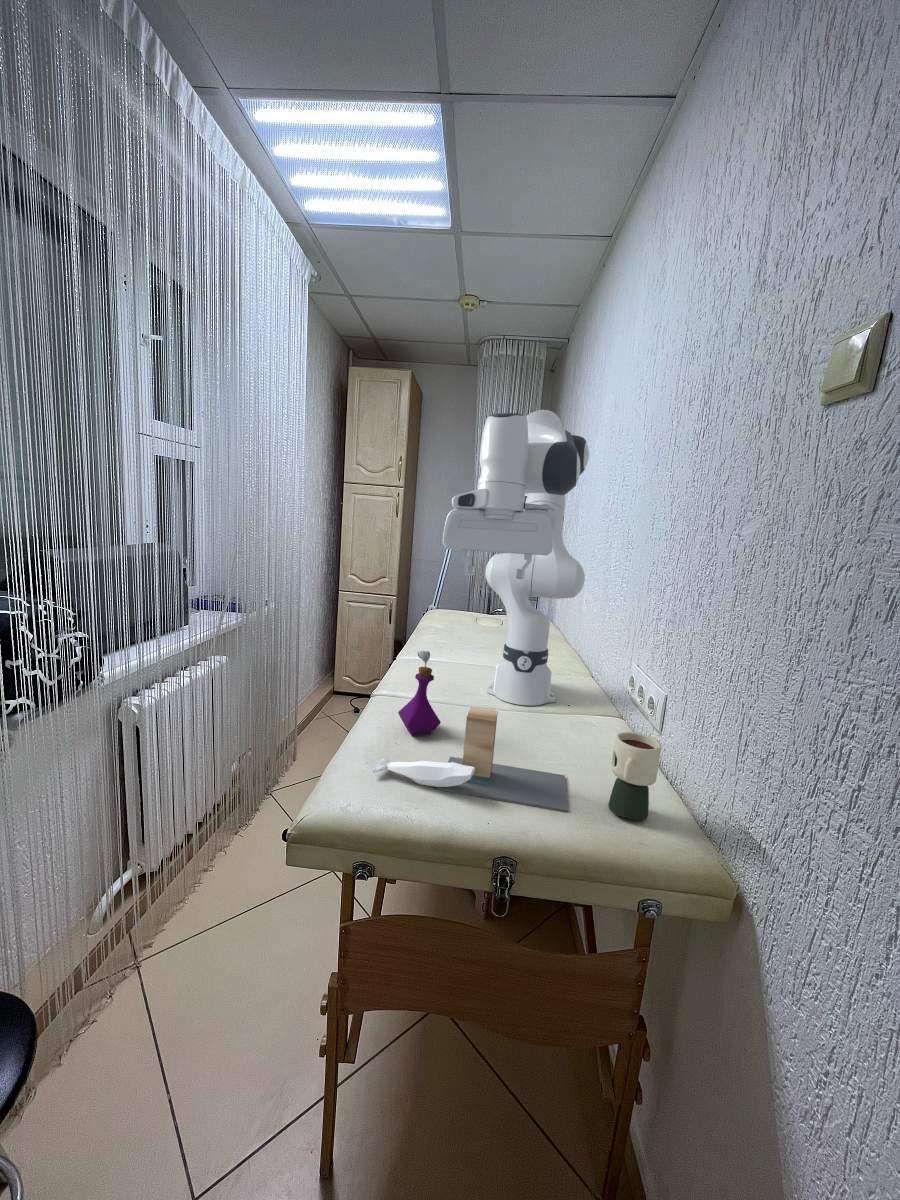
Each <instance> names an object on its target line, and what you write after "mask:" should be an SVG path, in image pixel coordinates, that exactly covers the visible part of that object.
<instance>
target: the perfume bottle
mask: <svg viewBox="0 0 900 1200" xmlns="http://www.w3.org/2000/svg"><path fill="white" fill-rule="evenodd" d="M416 652H417V656H418V658H419V659H421V661H423V663H424V666H419V667H418V673H416V674H415V677H414V679H415V680H417V682H418V686H417V690H416V693H415V695H414V696H413V697H412V698H411V699H410V700H409V701H408V702H407V703H406V704H405V705H404V706H403V707H401V709H400V710H398V712H397V713H398V715H399V717H400V719H401V721H402V723H403V725H404V727H405V729H406V728H407V729H406V730H407V731H408V733H409V734H410V736H411V735H412V736H411V737H416V736H415V735H419V736H428V735H427V734H429V735H431V734H432V733H433V732H434V731H435V730H436V729H437V728H438V727H439V726H440V724H441V720H440V719H439V717H438V715H437V714H436V712H435V711H434V709H433V707H432V705H431V703H430V702H429V699H428V696H427V690H428V685H429V683H431V681H434V680H435V676H434V675H433V674H432V672H433V669H432V668H431V667H428V666H427V663H428V661H429V659H430V658H431V652H430V651H428V650H419V651H416Z"/></svg>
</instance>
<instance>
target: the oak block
mask: <svg viewBox="0 0 900 1200" xmlns="http://www.w3.org/2000/svg"><path fill="white" fill-rule="evenodd" d="M498 715H499V710H493V709H489V708H488V709H487V708H481V707H480V708H479V707H474V706H471V707H470V709H469V711H468V713H467V715H466V720H465V721H466V723H465V733H464V741H463V742H464V745H463V754H462V759H463V764H462V765H466V766H472V767H475V772H474V774H473V775H472V777H471V779H470V780H468V781H466V782H471V783H476V784H482V785H488V786H489V782H490V778H491V773H492V764H494V762H493V761H494V751H495V745H496V744H495V743H496V731H497V723H498Z"/></svg>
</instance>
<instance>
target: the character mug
mask: <svg viewBox="0 0 900 1200" xmlns="http://www.w3.org/2000/svg"><path fill="white" fill-rule="evenodd" d="M614 739H615V740H614V746H613V754H612V758H611V765H610V766H611V767H610V769H611V772H612V773H613V775H614V776H615V777H616V779H615V781H614V783H613V786H612V790H611V793H610V797H609V800H608V805H607V806H608V809H609V811H611V812H612V813H613V814H615V816H619V817H623V818H627V819H630V820H637V821H642V820H643V821H644V820H646V819H647V818H648V816H649V806H650V805H649V803H650V801H649V800H650V799H649V797H650V794H649V793H650V790H649V789H650V788H649V786H652V785H654V784H656V782H657V777H658V770H659V765H660V758H661V752H662V751H661V750H662V744H661V742H660V741H658V740H657V739H656V738H654V737H653V736H650V735H647V734H644V733H639V732H635V731H634V732H633V731H621V732H618V733H616V734H615V738H614Z"/></svg>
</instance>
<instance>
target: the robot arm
mask: <svg viewBox="0 0 900 1200" xmlns="http://www.w3.org/2000/svg"><path fill="white" fill-rule="evenodd" d="M587 443H588V441H587V440H586V439H585V437H583V436H580V435H575V434H572V433H571V432H570V431H568V430H566V429H564V428H563V424H562V422H561V419H560V418H559V416H558V415H557V414H556V413H555V412H554V411H551V410H549V409H537V410H535V411H533V412H530V413H528V414H526V416H525V415H524V414H522V413H517V412H516V413H515V412H513V413H512V412H503V413H501V412H500V413H492V414H491V415H490V416H488V417H487V418H486V420H485V422H484V426H483V431H482V436H481V441H480V451H479V464H480V465H479V466H480V467H479V469H480V471H479V472H480V475H479V477H478V481H477V489H475V490H471V491H469V492H464V493H461V494H456V495H454V496H453V497H452V499H451V506H452V508H453V509H451V510H450V511H449V512H448V514H447V516H446V518H445V523H444V527H443V533H442V546H444V548H445V549H447V550H453V551H456V550H458V551H460V558H461V559H462V562H463V564H464V566H465V571H464V572H465V573H464V574H465V576H474V575H475V571H474V570H475V565H471V564H470V562H469V560H468V558H467V557H470V552H484V553H485V552H487V553H494V555H493V556H491V558H489V560H488V562H487V564H486V566H485V574H484V575H485V580H486V582H487V584H488V586H489V587H490V588H491V589H492V591H493V592H495V593H496V594H497V595H498V597H499V599H500V600H501V602H502V603H503V606H504V608H505V612H506V623H507V624H506V637H505V638H506V639H505V640H506V641H505V643H504V645H503V648H502V649H503V650H502V659H501V660H500V661H499V662H498V663H497V664H496V667H495V674H494V682H492V684H490V685H489V686H488V687H487V689H486V693H488V694H490V695H492V696H495V697H496V698H498V699H499V700H502V701H504V702H506V703H510V704H512V705H513V704H514V705H519V706H532V707H533V706H540V705H544V704H549V703H557V702H556V701H557V697H556V696H555V694H554V693H553V691H552V689H551V686H552V685H551V683H552V670H551V669H550V668H549V666H548V664H547V663H548V660H549V659H548V658H549V649H548V641H549V633H550V626H551V625H550V620H549V618H548V616H547V615H546V614H545V613H543V612H542V610H541V611H540V610H539V609H538V608H535V606H533V605H532V604H531V602H530V600H529V599H530V597H537V598H538V597H539V598H547V599H557V600H560V599H562V600H563V599H572V598H575V597H577V596H578V595H579V593H581V591H582V590H583V588H584V585H585V576H586V575H585V572H584V568H583V566H582V565H581V563H580V562H579V561H578V560H576V559H575V558H574V557H573V556H572V555H571V554H570V553H569V552H568V550H567V548H566V545H565V544H564V538H563V528H564V526H563V525H564V518H565V517H564V516H565V507H566V495H567V494H568V493H569V492H571V491H572V490H573V489H574V488H575V487H576V486H577V483H578V482H579V478H580V476H581V475H582V474H583V473H584V472H585V470H586V467H587V465H588V462H589V459H590V449H589V445H588V444H587ZM526 494H527V496H526Z"/></svg>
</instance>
